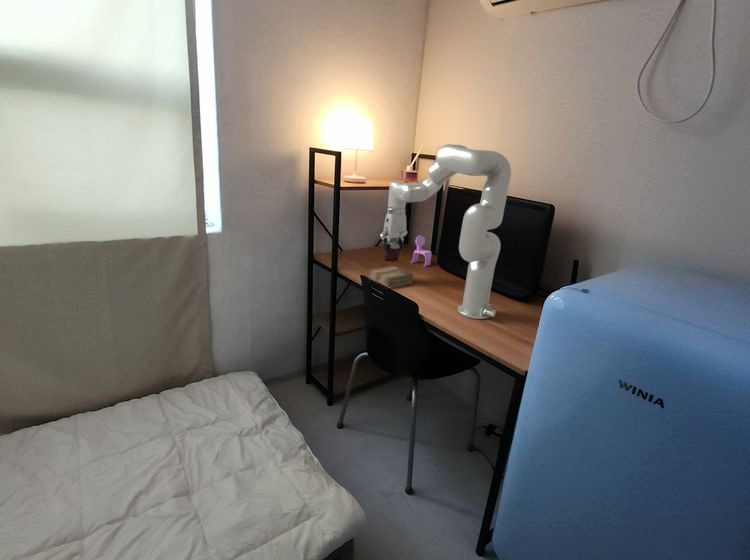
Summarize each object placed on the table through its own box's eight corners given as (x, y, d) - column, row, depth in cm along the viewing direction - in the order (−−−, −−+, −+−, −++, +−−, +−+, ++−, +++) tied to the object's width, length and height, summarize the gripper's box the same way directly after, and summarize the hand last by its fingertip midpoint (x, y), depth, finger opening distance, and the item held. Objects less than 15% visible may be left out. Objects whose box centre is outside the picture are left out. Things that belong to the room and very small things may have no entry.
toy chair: (423, 267, 211) (426, 239, 206) (409, 263, 217) (412, 235, 212) (432, 264, 217) (435, 237, 213) (418, 260, 223) (421, 233, 218)
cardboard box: (411, 284, 186) (412, 274, 185) (387, 289, 178) (388, 278, 176) (391, 275, 197) (392, 265, 195) (368, 279, 188) (369, 269, 187)
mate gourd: (381, 258, 187) (384, 226, 182) (398, 258, 189) (400, 226, 184) (385, 263, 180) (388, 229, 175) (403, 263, 182) (406, 230, 177)
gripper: (388, 213, 168) (384, 255, 174) (416, 211, 180) (412, 250, 186) (375, 210, 173) (372, 251, 179) (403, 208, 185) (400, 246, 191)
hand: (392, 250), depth 182 cm, fingers closed on mate gourd, 7 cm apart
